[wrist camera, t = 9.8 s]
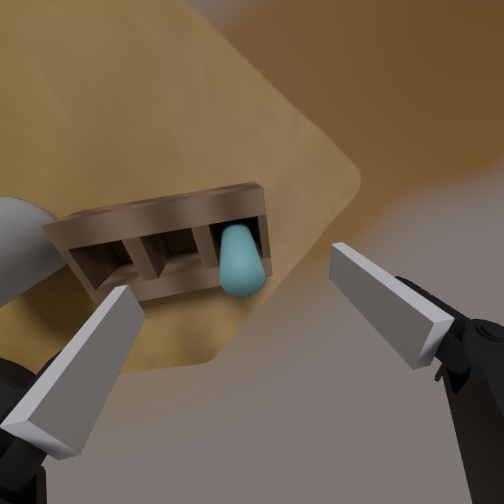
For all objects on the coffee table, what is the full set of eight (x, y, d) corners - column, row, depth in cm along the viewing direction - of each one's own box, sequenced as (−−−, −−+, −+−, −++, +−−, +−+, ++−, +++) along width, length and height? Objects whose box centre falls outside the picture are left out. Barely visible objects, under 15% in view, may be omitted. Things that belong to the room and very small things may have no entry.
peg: (224, 238, 22) (223, 299, 13) (220, 214, 21) (215, 262, 11) (248, 235, 23) (266, 293, 13) (246, 211, 21) (264, 255, 12)
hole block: (123, 280, 23) (99, 309, 19) (83, 210, 19) (40, 225, 15) (263, 254, 24) (272, 275, 20) (254, 181, 20) (263, 188, 15)
